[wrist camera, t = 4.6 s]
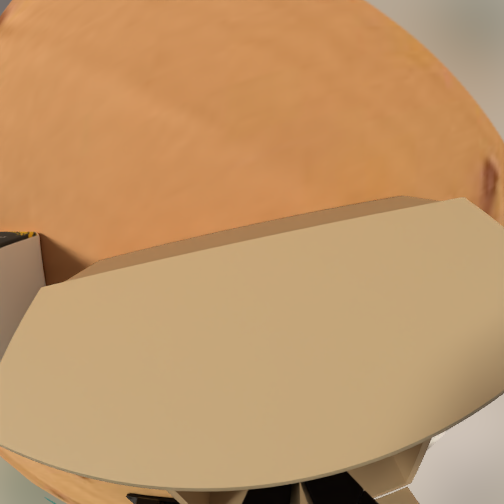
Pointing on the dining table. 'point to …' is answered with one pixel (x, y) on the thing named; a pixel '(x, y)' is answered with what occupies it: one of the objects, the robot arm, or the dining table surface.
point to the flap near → (263, 354)
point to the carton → (369, 476)
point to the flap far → (398, 497)
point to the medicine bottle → (18, 280)
